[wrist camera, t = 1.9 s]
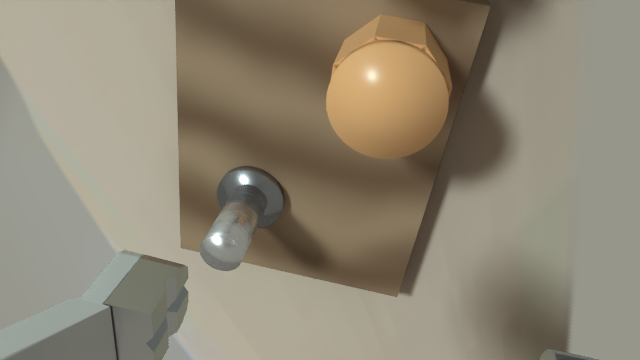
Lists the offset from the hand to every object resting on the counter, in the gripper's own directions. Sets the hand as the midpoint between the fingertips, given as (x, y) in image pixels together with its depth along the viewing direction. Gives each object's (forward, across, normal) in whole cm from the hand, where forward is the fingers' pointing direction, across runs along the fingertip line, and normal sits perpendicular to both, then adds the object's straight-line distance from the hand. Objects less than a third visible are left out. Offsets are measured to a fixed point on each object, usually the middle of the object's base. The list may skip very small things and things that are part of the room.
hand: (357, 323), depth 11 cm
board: (+19, +4, +6) cm, 20 cm away
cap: (+18, 0, 0) cm, 18 cm away
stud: (+18, +7, +10) cm, 21 cm away
